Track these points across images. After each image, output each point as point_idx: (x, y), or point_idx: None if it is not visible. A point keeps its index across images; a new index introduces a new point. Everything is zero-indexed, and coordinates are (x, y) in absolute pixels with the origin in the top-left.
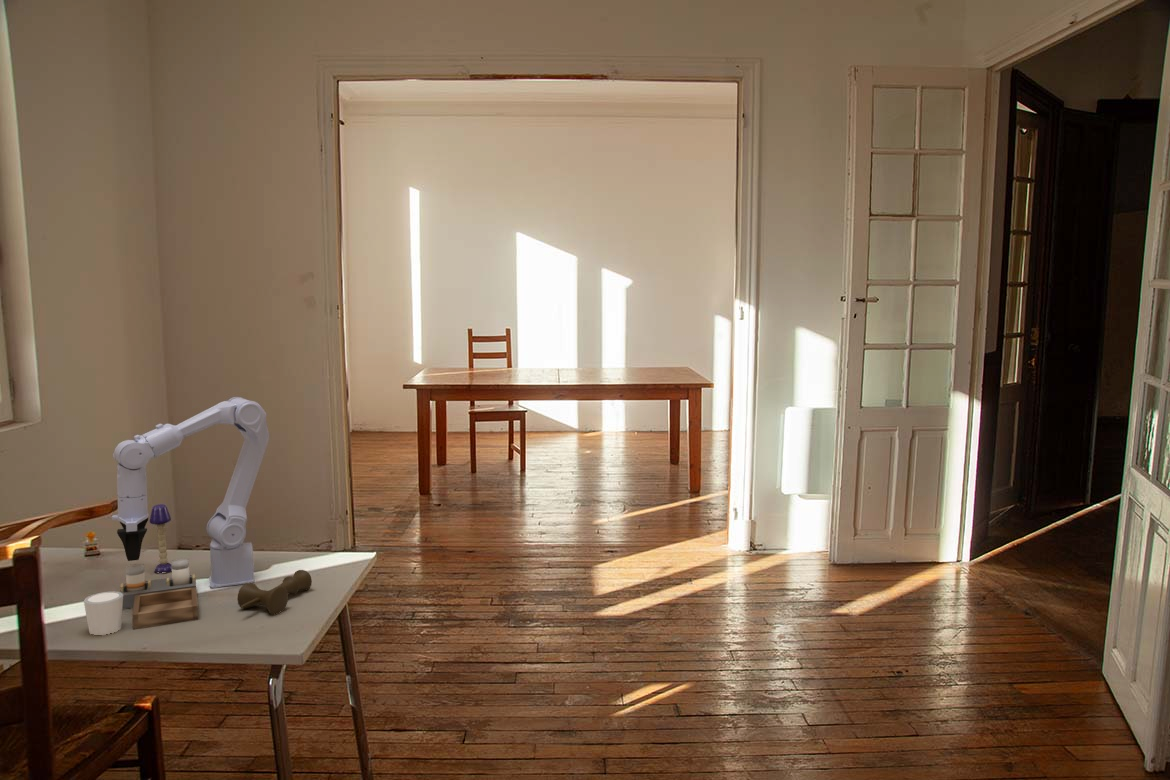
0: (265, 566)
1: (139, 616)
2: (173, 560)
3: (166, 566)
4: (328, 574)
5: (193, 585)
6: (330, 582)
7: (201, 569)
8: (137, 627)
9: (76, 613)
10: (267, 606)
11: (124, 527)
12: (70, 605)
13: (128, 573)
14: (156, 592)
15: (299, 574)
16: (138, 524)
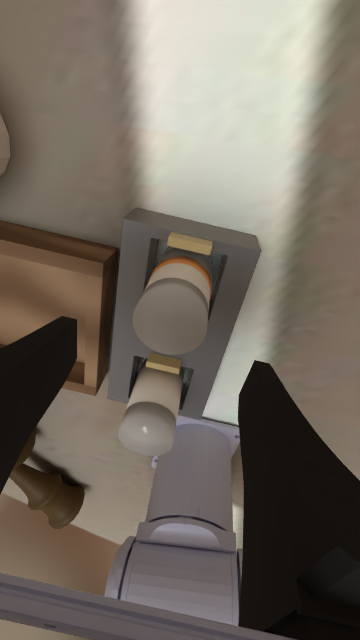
0: (239, 500)
1: None
2: (160, 428)
3: None
4: (128, 525)
5: (112, 395)
6: (89, 515)
7: (327, 434)
8: None
9: (179, 47)
10: None
11: (300, 498)
12: (302, 29)
13: (150, 286)
14: (99, 318)
15: (51, 517)
16: (258, 567)
